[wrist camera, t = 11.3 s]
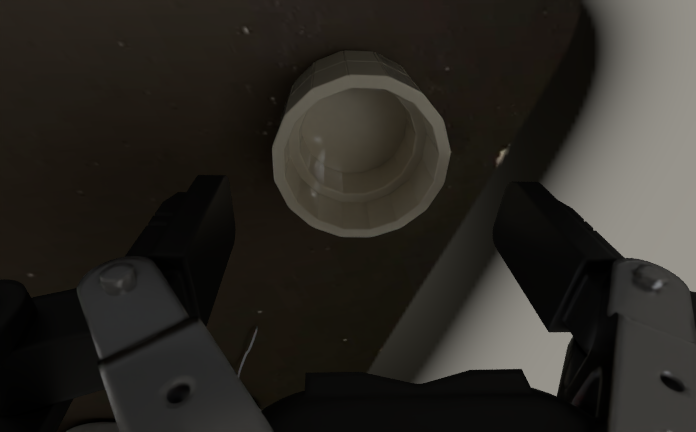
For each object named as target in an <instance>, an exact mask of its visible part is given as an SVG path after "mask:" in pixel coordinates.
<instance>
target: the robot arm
mask: <svg viewBox="0 0 696 432" xmlns="http://www.w3.org/2000/svg"><path fill="white" fill-rule="evenodd" d="M148 224H149V225H148V226H146V227H145V229H144V230H143V231H142V233H141V234H140V236H139V237H138V239H137V240H136V241H135V243H134V244H133V246H132V247H131V249H130V250H129V251H128V253H127V254H126V256H125V257H121V258H116V259H113V260H110V261H107V262H105V263H102V264H100V265H98V266H97V267H95V268H93V269H92V270H90V271H89V272H88V273H87V274H86V275H85V276H84V277H83V278H82V279H81V280H80V282H79V284H78V286H77V288H75V289H71V290H67V291H62V292H57V293H52V294H47V295H42V296H38V297H33V298H31V297H30V295H29V293H28V291H27V290H26V288H25V287H24V285H23V284H21V283H20V282H18V281H14V280H0V432H56V431H57V429H58V427H59V425H60V423H61V421H62V419H63V417H64V416H65V414H66V412H67V410H68V408H69V406H70V404H71V402H72V400H73V398H76V397H79V396H83V395H86V394H90V393H93V392H96V391H100V390H103V389H106V392H107V395H108V398H109V401H110V404H111V407H112V410H113V413H114V416H115V419H116V422H117V425H118V428H119V431H120V432H696V292H691V291H689V288H688V287H687V285H686V284H685V283H684V282H683V281H682V280H681V279H680V278H679V277H677V276H676V275H675V274H673V273H672V272H670V271H668V270H667V269H665V268H663V267H661V266H658V265H656V264H653V263H651V262H648V261H644V260H640V259H633V258H624V257H623V256H622V255H621V254H620V253H619V252H618V251H616V249H615V248H613V247H612V246H611V245H610V244H609V243H608V242H607V241H606V240H605V239H604V238H603V237H602V236H601V235H600V234H599V233H598V232H597V231H593V228H592V227H591V226H590V225H589V224H588V223H587V222H584V219H583V218H582V217H581V216H580V215H579V214H578V213H577V212H575V210H573V209H572V208H570V207H569V206H567V205H565V204H564V203H562V202H560V201H558V200H557V199H556V198H555V197H554V196H553V195H552V194H551V193H550V192H549V191H548V190H547V189H546V188H545V187H543V185H541V184H540V183H539V182H510V183H509V184H508V185H507V187H506V189H505V192H504V195H503V198H502V202H501V204H500V208H499V211H498V214H497V217H496V221H495V224H494V227H493V241H494V244H495V247H496V248H497V250H498V252H499V253H500V255H501V256H502V258H503V259H504V261H505V263H506V264H507V266H508V268H509V269H510V271H511V273H512V274H513V276H514V277H515V279H516V280H517V282H518V284H519V285H520V287H521V289H522V290H523V292H524V293H525V295H526V296H527V298H528V299H529V301H530V303H531V304H532V306H533V308H534V309H535V311H536V313H537V314H538V316H539V317H540V319H541V321H542V322H543V324H544V325H545V327H546V328H547V330H548V332H571V334H572V335H573V337H572V339H571V341H570V343H569V344H568V347H567V352H566V356H565V361H564V365H563V370H562V375H561V379H560V384H559V389H558V393H557V397H556V396H554V395H552V394H549V393H546V392H543V391H540V390H537V389H534V388H531V387H530V385H529V383H528V381H527V379H526V377H525V375H524V373H523V371H522V369H506V370H505V369H501V370H469V371H466V372H462V373H458V374H455V375H451V376H448V377H444V378H441V379H438V380H434V381H430V382H427V383H423V384H414V383H409V382H404V381H400V380H395V379H390V378H386V377H381V376H377V375H372V374H368V373H363V372H330V373H306V380H305V391H302V392H298V393H295V394H292V395H290V396H287V397H285V398H282V399H280V400H279V401H277V402H275V403H273V404H271V405H270V406H268V407H266V408H265V409H264V410H262V411H260V409H259V408H258V406H257V405H256V403H255V402H254V400H253V399H252V397H251V395H250V394H249V392H248V391H247V389H246V388H245V386H244V385H243V383H242V382H241V380H240V379H239V377H238V376H237V374H236V373H235V371H234V370H233V368H232V366H231V365H230V363H229V362H228V360H227V359H226V357H225V356H224V354H223V353H222V351H221V350H220V348H219V347H218V345H217V344H216V342H215V341H214V339H213V337H212V336H211V334H210V333H209V331H208V330H207V328H206V326H207V323H208V320H209V317H210V314H211V311H212V308H213V305H214V302H215V299H216V296H217V293H218V290H219V287H220V284H221V281H222V278H223V275H224V272H225V269H226V266H227V263H228V260H229V257H230V254H231V251H232V248H233V245H234V240H235V220H234V212H233V205H232V198H231V191H230V184H229V180H228V177H227V176H224V175H198V176H197V177H196V178H195V180H194V182H193V183H192V185H191V186H190V188H189V190H188V191H187V192H178V193H176V194H175V195H173V196H172V197H170V198H169V199H167V200H166V201H164V202H163V203H162V204H161V206H160V207H159V209H158V210H157V212H156V213H155V216H153V217H152V219H151V220H150V222H149V223H148Z"/></svg>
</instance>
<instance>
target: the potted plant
mask: <svg viewBox="0 0 696 432" xmlns="http://www.w3.org/2000/svg"><path fill="white" fill-rule="evenodd" d="M66 432H120V431H119V428H118V425H117V422H95V423H88V424H84V425H79V426H75V427H73V428H71V429H70V430H68V431H66Z"/></svg>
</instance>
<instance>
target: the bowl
mask: <svg viewBox="0 0 696 432" xmlns="http://www.w3.org/2000/svg"><path fill="white" fill-rule="evenodd" d="M450 152H451V150H450V146H449V141H448V136H447V132H446V127H445V123H444V120H443V118H442V117H441V116H440V114H439V113H438V112H437V111H436V109H435V108H434V107H433V106H432V104H431V103H430V102H429V100H428V99H427V98H426V97H425V95H424V94H423V93H422V92H421V90H420V89H419V88H418V86H417V85H416V84H415V83H414V81H413V80H412V79H411V78H410V76H409V75H408V74H407V72H406V71H405V70H404V69H403V67H402V66H400V65H399V64H397V63H395V62H393V61H391V60H390V59H388V58H386V57H384V56H382V55H380V54H378V53H374V52H372V51H349V50H345V51H340V52H337V53H335V54H332V55H330V56H327V57H325V58H322V59H320V60H317V61H316V62H314V63H312V64H311V65H310V66H309V67H308V69H307V70H306V71H305V72H304V73H303V74H302V75H301V76H300V77H299V78H298V79H297V80H296V81H295V82H294V84H293V85H292V87H291V90H290V92H289V95H288V98H287V100H286V103H285V106H284V108H283V112H282V115H281V118H280V122H279V125H278V128H277V132H276V135H275V139H274V142H273V145H272V159H273V174H274V181H275V183H276V185H277V187H278V189H279V191H280V192H281V194H282V196H283V198H284V200H285V202H286V204H287V206H288V207H289V208H290V209H291V210H292V211H293V212H295V213H296V214H297V215H298V216H299V217H301V218H302V219H303V220H304V221H306V222H307V223H308V224H309V225H310V226H312V227H314V228H317V229H319V230H322V231H325V232H328V233H331V234H334V235H337V236H340V237H371V236H372V237H374V236H377V235H380V234H383V233H387V232H390V231H393V230H396V229H399V228H401V227H403V226H404V225H406V224H407V223H409V222H410V221H411V220H413V219H414V218H416V217H417V216H418V215H420V214H421V213H422V212H424V211H425V210H426V209H427V208H428V207H429V205H430V204H431V202H432V201H433V199H434V198H435V196H436V195H437V193H438V192H439V190H440V189H441V188H442V186H443V184H444V182H445V177H446V173H447V168H448V163H449V159H450V154H451V153H450Z"/></svg>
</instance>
